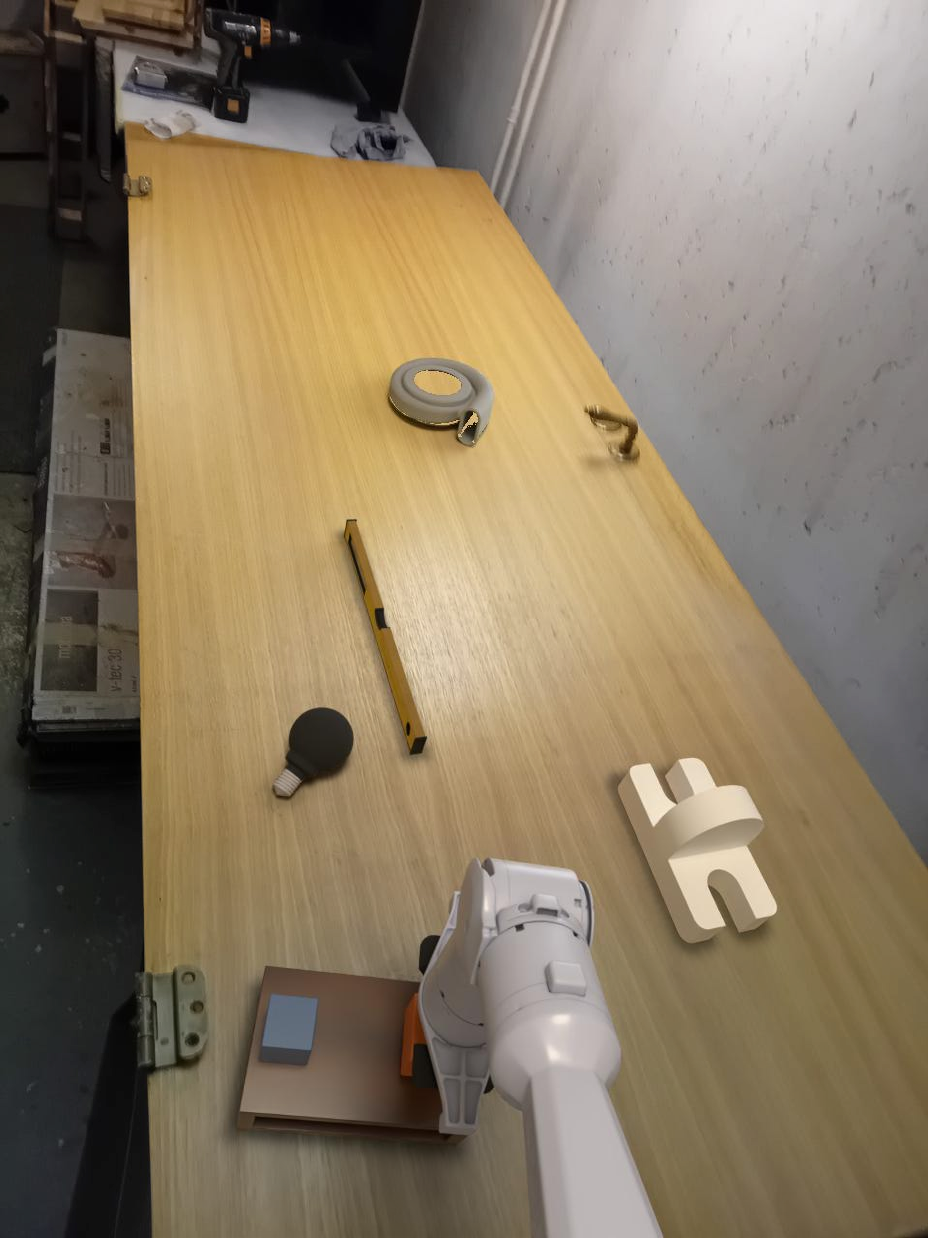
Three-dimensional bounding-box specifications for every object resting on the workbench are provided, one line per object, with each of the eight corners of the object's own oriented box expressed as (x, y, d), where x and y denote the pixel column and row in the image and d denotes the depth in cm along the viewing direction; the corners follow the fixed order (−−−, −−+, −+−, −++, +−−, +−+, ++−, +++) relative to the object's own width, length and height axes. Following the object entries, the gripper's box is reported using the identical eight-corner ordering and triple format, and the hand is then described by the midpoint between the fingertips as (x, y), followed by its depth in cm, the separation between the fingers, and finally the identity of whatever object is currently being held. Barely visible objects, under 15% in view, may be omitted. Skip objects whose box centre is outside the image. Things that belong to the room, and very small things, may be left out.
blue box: (306, 1066, 60) (311, 1051, 57) (258, 1061, 59) (261, 1046, 56) (313, 1015, 62) (319, 998, 59) (267, 1010, 62) (270, 993, 59)
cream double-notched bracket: (687, 773, 94) (731, 720, 86) (763, 927, 83) (821, 882, 75) (614, 783, 90) (652, 729, 83) (683, 945, 79) (735, 900, 72)
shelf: (456, 1146, 64) (474, 1130, 60) (236, 1129, 61) (238, 1112, 57) (460, 1010, 71) (476, 987, 66) (261, 990, 68) (265, 965, 64)
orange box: (460, 1081, 60) (473, 1067, 57) (400, 1075, 59) (410, 1061, 56) (462, 1016, 63) (475, 999, 60) (405, 1010, 62) (414, 992, 59)
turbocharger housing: (412, 375, 137) (372, 415, 127) (416, 339, 133) (375, 378, 123) (504, 409, 135) (472, 453, 125) (513, 373, 130) (479, 416, 120)
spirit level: (421, 753, 87) (427, 737, 85) (410, 754, 87) (415, 739, 84) (353, 535, 107) (356, 518, 105) (343, 536, 106) (346, 519, 104)
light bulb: (249, 771, 76) (317, 688, 80) (252, 778, 82) (315, 701, 86) (304, 813, 76) (369, 728, 80) (302, 817, 82) (363, 738, 86)
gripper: (549, 1118, 46) (488, 1160, 56) (540, 873, 56) (490, 946, 65) (425, 1107, 45) (386, 1152, 55) (438, 859, 55) (403, 935, 64)
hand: (436, 1039), depth 60 cm, fingers closed on orange box, 4 cm apart
